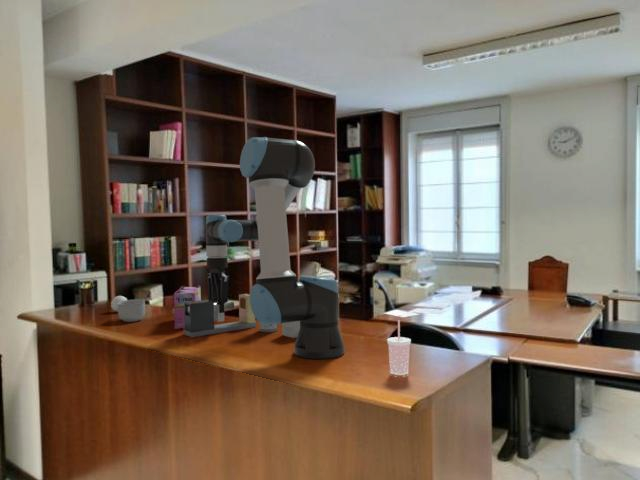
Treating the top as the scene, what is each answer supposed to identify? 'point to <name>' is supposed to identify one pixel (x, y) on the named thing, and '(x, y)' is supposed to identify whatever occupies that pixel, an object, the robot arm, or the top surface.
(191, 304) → the sleeve and socket
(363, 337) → the top surface
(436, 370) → the top surface
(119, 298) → the white ovoid
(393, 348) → the beverage cup
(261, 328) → the travel mug
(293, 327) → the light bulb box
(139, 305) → the teacup
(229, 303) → the slip tube
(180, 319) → the gum box
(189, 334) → the base board
